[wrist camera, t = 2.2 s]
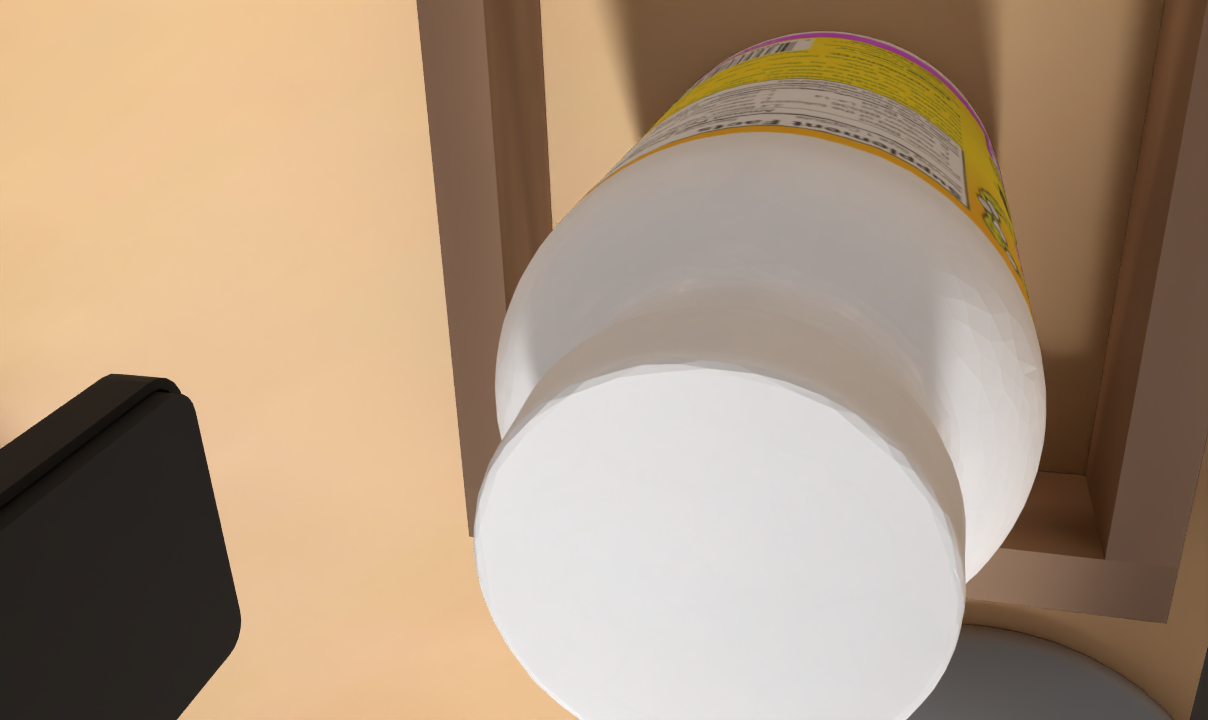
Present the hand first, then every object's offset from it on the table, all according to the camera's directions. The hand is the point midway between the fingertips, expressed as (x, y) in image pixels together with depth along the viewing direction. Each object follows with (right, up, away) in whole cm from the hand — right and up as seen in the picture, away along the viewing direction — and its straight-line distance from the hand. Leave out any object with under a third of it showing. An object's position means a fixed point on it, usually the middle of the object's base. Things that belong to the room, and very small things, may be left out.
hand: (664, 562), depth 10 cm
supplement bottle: (+4, +5, +12) cm, 13 cm away
